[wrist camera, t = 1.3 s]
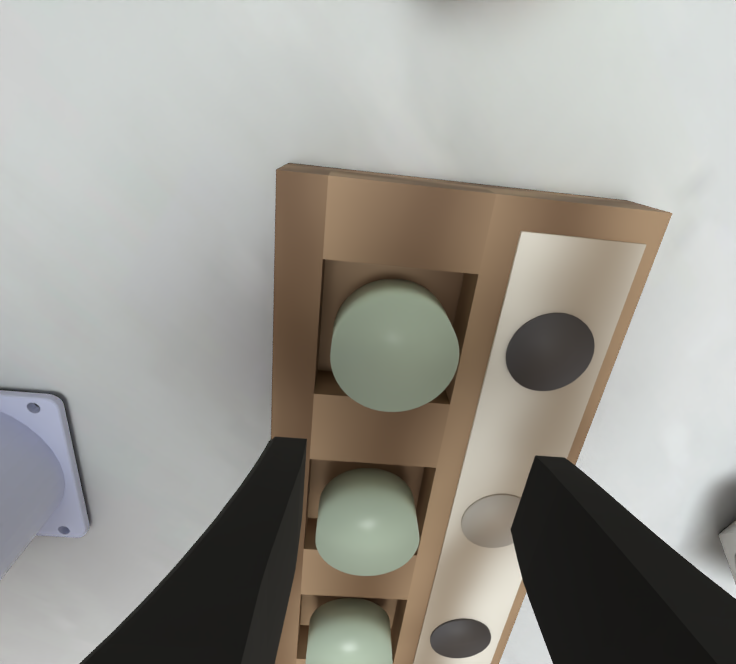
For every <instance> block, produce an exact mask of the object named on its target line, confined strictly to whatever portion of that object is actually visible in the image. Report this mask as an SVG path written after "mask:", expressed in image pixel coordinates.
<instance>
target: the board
mask: <svg viewBox="0 0 736 664" xmlns="http://www.w3.org/2000/svg"><path fill="white" fill-rule="evenodd" d="M671 215H672V213H670V212H666V211H662V210H659V209H655V208H652V207H648V206H645V205H641V204H638V203H634V202H631V201H626V200H617V199H608V198H599V197H590V196H581V195H572V194H563V193H554V192H545V191H536V190H527V189H518V188H509V187H500V186H491V185H482V184H473V183H464V182H455V181H446V180H437V179H428V178H419V177H410V176H401V175H392V174H383V173H374V172H365V171H356V170H347V169H338V168H329V167H320V166H311V165H302V164H293V163H288V164H286V165H284V166H282V167H280V168H278V169H277V170H276V210H275V261H274V313H273V364H272V416H271V439H273V438H274V437H275V436H276V437H289V438H303V439H307V447H306V463H305V480H304V496H303V512H302V522H301V530H300V539H299V547H298V554H297V562H296V570H295V574H294V579H293V584H292V588H291V593H290V597H289V602H288V606H287V611H286V615H285V620H284V624H283V629H282V633H281V638H280V642H279V647H278V651H277V656H276V660H275V664H306V652H307V642H308V632H309V622H310V618H311V616H312V614H313V612H314V611H315V610H316V609H317V608H319V607H320V606H321V605H323V604H325V603H327V602H330V601H332V600H336V599H341V598H359V599H365V600H368V601H371V602H373V603H375V604H377V605H379V606H380V607H382V608H383V609H384V610H385V611H386V613H387V614H388V616H389V619H390V630H391V645H392V661H393V663H392V664H499V662H500V659H501V657H502V654H503V651H504V649H505V646H506V644H507V641H508V638H509V636H510V633H511V631H512V628H513V625H514V623H515V620H516V618H517V615H518V612H519V610H520V607H521V605H522V602H523V599H524V597H525V594H526V589H525V586H524V583H523V580H522V576H521V572H520V568H519V564H518V560H517V556H516V552H515V547H514V543H513V538H512V534H511V530H510V529H511V526H512V523H513V520H514V517H515V514H516V511H517V508H518V505H519V502H520V499H521V496H522V493H523V490H524V487H525V484H526V481H527V478H528V475H529V472H530V469H531V466H532V463H533V460H534V457H535V455H537V456H551V457H565V458H566V459H567V460H569V461H570V462H571V463H573V464H574V465H575V464H576V462H577V459H578V457H579V454H580V451H581V449H582V446H583V444H584V441H585V438H586V436H587V433H588V431H589V428H590V426H591V423H592V420H593V418H594V415H595V413H596V410H597V407H598V405H599V402H600V400H601V397H602V394H603V392H604V389H605V387H606V384H607V381H608V379H609V376H610V374H611V371H612V368H613V366H614V363H615V361H616V358H617V355H618V353H619V350H620V348H621V345H622V342H623V340H624V337H625V335H626V332H627V329H628V327H629V324H630V322H631V319H632V316H633V314H634V311H635V309H636V306H637V304H638V301H639V298H640V296H641V293H642V291H643V288H644V285H645V283H646V280H647V278H648V275H649V272H650V270H651V267H652V265H653V262H654V259H655V257H656V254H657V252H658V249H659V246H660V244H661V241H662V239H663V236H664V233H665V231H666V228H667V226H668V223H669V220H670V218H671ZM382 279H403V280H408V281H411V282H415V283H417V284H419V285H421V286H423V287H424V288H426V289H428V290H429V291H430V292H431V293H432V294H434V296H435V297H436V298H437V299H438V300H439V302H440V303H441V304H442V306H443V308H444V310H445V312H446V314H447V317H448V319H449V321H450V323H451V325H452V327H453V329H454V332H455V334H456V337H457V340H458V345H459V361H458V366H457V369H456V372H455V374H454V377H453V378H452V380H451V382H450V383H449V385H448V386H447V387H446V388H445V390H444V391H443V392H442V393H441V394H440V395H438V396H437V397H436V398H434V399H433V400H432V401H430V402H428V403H427V404H425V405H422V406H420V407H418V408H414V409H411V410H407V411H400V412H385V411H378V410H374V409H370V408H368V407H365V406H363V405H361V404H359V403H357V402H356V401H354V400H353V399H351V398H350V397H349V396H348V395H347V394H346V393H345V392H344V391H343V390H342V389H341V388H340V386H339V384H338V383H337V381H336V379H335V377H334V375H333V371H332V368H331V362H330V352H331V344H332V335H333V327H334V321H335V318H336V315H337V313H338V311H339V308H340V307H341V305H342V304H343V302H344V301H345V300H346V299H347V298H348V297H349V296H350V295H351V294H352V293H353V292H354V291H356V290H357V289H359V288H360V287H362V286H364V285H366V284H368V283H371V282H374V281H377V280H382ZM358 468H376V469H382V470H385V471H388V472H391V473H393V474H395V475H397V476H398V477H400V478H401V479H402V480H404V481H405V482H406V484H407V485H408V486H409V488H410V489H411V491H412V493H413V497H414V503H415V510H416V516H417V523H418V530H419V545H418V548H417V550H416V552H415V554H414V555H413V557H412V558H411V559H410V560H409V561H408V562H407V563H406V564H404V565H403V566H401V567H400V568H398V569H396V570H394V571H391V572H388V573H385V574H381V575H375V576H358V575H352V574H348V573H344V572H342V571H339V570H337V569H335V568H333V567H332V566H330V565H329V564H328V563H327V562H325V561H324V560H323V558H322V557H321V556H320V554H319V552H318V550H317V547H316V528H317V518H318V509H319V500H320V496H321V493H322V491H323V489H324V488H325V486H326V485H327V484H328V483H329V482H330V481H331V480H332V479H333V478H335V477H336V476H338V475H340V474H342V473H344V472H346V471H350V470H353V469H358Z"/></svg>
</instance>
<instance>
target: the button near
mask: <svg viewBox="0 0 736 664" xmlns="http://www.w3.org/2000/svg"><path fill="white" fill-rule="evenodd" d="M458 361H459V345H458V340H457V337H456V334H455V332H454V329H453V327H452V325H451V323H450V321H449V319H448V317H447V314H446V312H445V310H444V308H443V306H442V304H441V303H440V302H439V300H438V299H437V298H436V297H435V296H434V294H432V293H431V292H430V291H429V290H428V289H426V288H424V287H423V286H421V285H419V284H417V283H415V282H411V281H408V280H403V279H382V280H377V281H374V282H371V283H368V284H366V285H364V286H362V287H360V288H359V289H357V290H356V291H354V292H353V293H352V294H351V295H350V296H349V297H348V298H347V299H346V300H345V301H344V302H343V304H342V305H341V307H340V308H339V311H338V313H337V315H336V318H335V321H334V327H333V335H332V344H331V352H330V362H331V368H332V371H333V375H334V377H335V379H336V381H337V383H338V384H339V386H340V388H341V389H342V390H343V391H344V392H345V393H346V394H347V395H348V396H349V397H350V398H351V399H353V400H354V401H356V402H357V403H359V404H361V405H363V406H365V407H368V408H370V409H374V410H378V411H385V412H400V411H407V410H411V409H414V408H418V407H420V406H422V405H425V404H427V403H428V402H430V401H432V400H433V399H434V398H436V397H437V396H438V395H440V394H441V393H442V392H443V391H444V390H445V388H446V387H447V386H448V385H449V383H450V382H451V380H452V378H453V377H454V374H455V372H456V369H457V366H458Z"/></svg>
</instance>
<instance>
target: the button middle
mask: <svg viewBox="0 0 736 664" xmlns="http://www.w3.org/2000/svg"><path fill="white" fill-rule="evenodd" d="M418 545H419V530H418V523H417V516H416V510H415V503H414V497H413V493H412V491H411V489H410V488H409V486H408V485H407V484H406V482H405V481H404V480H402V479H401V478H400V477H398V476H397V475H395V474H393V473H391V472H388V471H385V470H382V469H376V468H358V469H353V470H350V471H346V472H344V473H342V474H340V475H338V476H336V477H335V478H333V479H332V480H331V481H330V482H329V483H328V484H327V485H326V486H325V488H324V489H323V491H322V493H321V496H320V500H319V509H318V518H317V528H316V547H317V550H318V552H319V554H320V556H321V557H322V558H323V560H324V561H325V562H327V563H328V564H329V565H330V566H332V567H333V568H335V569H337V570H339V571H342V572H344V573H348V574H352V575H358V576H375V575H381V574H385V573H388V572H391V571H394V570H396V569H398V568H400V567H401V566H403V565H404V564H406V563H407V562H408V561H409V560H410V559H411V558H412V557H413V555H414V554H415V552H416V550H417V548H418Z"/></svg>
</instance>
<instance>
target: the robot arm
mask: <svg viewBox="0 0 736 664" xmlns="http://www.w3.org/2000/svg"><path fill="white" fill-rule="evenodd" d="M34 403H36V404H37V405H39V407H37V406H36V405H35V404H34ZM306 447H307V439H303V438H289V437H276V436H275V437H274V438H273V439H271V440H270V441H269V442H268V444H267V446H266V448H265V449H264V451H263V453H262V454H261V456H260V458H259V459H258V461H257V462H256V464H255V465H254V467H253V468H252V470H251V471H250V473H249V474H248V476H247V477H246V478H245V480H244V481H243V483H242V484H241V486H240V487H239V488H238V490H237V491H236V492H235V494H234V495H233V496H232V498H231V499H230V500H229V502H228V503H227V504H226V505H225V507H224V508H223V509H222V511H221V512H220V513H219V515H218V516H217V517H216V519H215V520H214V521H213V522H212V524H211V525H210V526H209V527H208V528H207V530H206V531H205V532H204V533H203V534H202V536H201V537H200V538H199V539H198V540H197V541H196V543H195V544H194V545H193V546H192V547H191V548H190V550H189V551H188V552H187V553H186V554H185V555H184V557H183V558H182V559H181V560H180V561H179V562H178V564H177V565H176V566H175V567H174V568H173V569H172V570H171V572H170V573H169V574H168V575H167V576H166V577H165V578H164V579H163V580H162V581H161V582H160V584H159V585H158V586H157V587H156V588H155V589H154V590H153V591H152V592H151V593H150V594H149V595H148V596H147V597H146V598H145V600H144V601H143V602H142V603H141V604H140V605H139V606H138V607H137V608H136V609H135V610H134V611H133V612H132V613H131V614H130V615H129V616H128V617H127V618H126V619H125V620H124V621H123V622H122V623H121V624H120V625H119V626H118V627H117V628H116V629H115V630H114V631H113V632H112V633H111V634H110V635H109V636H108V637H107V638H106V639H105V640H104V641H103V642H102V643H101V644H100V645H98V646H97V647H96V648H95V649H94V650H93V651H92V652H91V653H90V654H89V655H88V656H87V657H86V658H85V659H84V660H83V661H82V662H81V663H80V664H275V660H276V656H277V651H278V647H279V642H280V638H281V633H282V629H283V624H284V620H285V615H286V611H287V606H288V602H289V597H290V593H291V588H292V584H293V579H294V574H295V570H296V562H297V554H298V547H299V539H300V530H301V522H302V512H303V496H304V480H305V463H306ZM89 527H90V525H89V520H88V516H87V511H86V506H85V502H84V497H83V492H82V487H81V483H80V478H79V473H78V469H77V464H76V459H75V455H74V450H73V445H72V441H71V436H70V431H69V426H68V422H67V417H66V412H65V408H64V404H63V402H62V400H61V399H60V398H59V397H57V396H55V395H51V394H43V393H30V392H16V391H3V390H0V580H1V579H2V578H3V576H4V575H5V574H6V572H7V571H8V570H9V569H10V567H11V566H12V565H13V564H14V562H15V561H16V560H17V558H18V557H19V556H20V555H21V553H22V552H23V551H24V550H25V548H26V547H27V546H28V544H29V543H30V542H31V541H32V539H33V538H34V537H35V536H36V535H40V536H58V537H75V538H77V537H82V536H84V535H85V534H86V533H87V531H88V530H89ZM510 530H511V534H512V538H513V543H514V547H515V552H516V556H517V560H518V564H519V568H520V572H521V576H522V580H523V583H524V586H525V589H526V592H527V594H528V597H529V600H530V603H531V605H532V608H533V611H534V614H535V616H536V619H537V622H538V625H539V627H540V630H541V633H542V635H543V638H544V641H545V643H546V646H547V649H548V651H549V654H550V657H551V659H552V662H553V664H736V599H735V598H734V597H732V596H731V595H730V594H729V593H727V592H726V591H725V590H723V589H722V588H721V587H720V586H718V585H717V584H716V583H715V582H713V581H712V580H711V579H709V578H708V577H707V576H706V575H704V574H703V573H702V572H701V571H699V570H698V569H697V568H696V567H694V566H693V565H692V564H691V563H689V562H688V561H687V560H686V559H685V558H683V557H682V556H681V555H680V554H678V553H677V552H676V551H675V550H674V549H672V548H671V547H670V546H669V545H668V544H666V543H665V542H664V541H663V540H662V539H661V538H659V537H658V536H657V535H656V534H655V533H653V532H652V531H651V530H650V529H649V528H648V527H646V526H645V525H644V524H643V523H642V522H641V521H639V520H638V519H637V518H636V517H635V516H634V515H632V514H631V513H630V512H629V511H628V510H627V509H625V508H624V507H623V506H622V505H621V504H620V503H619V502H617V501H616V500H615V499H614V498H613V497H612V496H610V495H609V494H608V493H607V492H606V491H605V490H604V489H602V488H601V487H600V486H599V485H598V484H597V483H595V482H594V481H593V480H592V479H591V478H590V477H588V476H587V475H586V474H585V473H584V472H582V471H581V470H580V469H579V468H578V467H576V466H575V465H574V464H573V463H571V462H570V461H569V460H567V459H566V458H565V457H551V456H537V455H535V457H534V460H533V463H532V466H531V469H530V472H529V475H528V478H527V481H526V484H525V487H524V490H523V493H522V496H521V499H520V502H519V505H518V508H517V511H516V514H515V517H514V520H513V523H512V526H511V529H510Z"/></svg>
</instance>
